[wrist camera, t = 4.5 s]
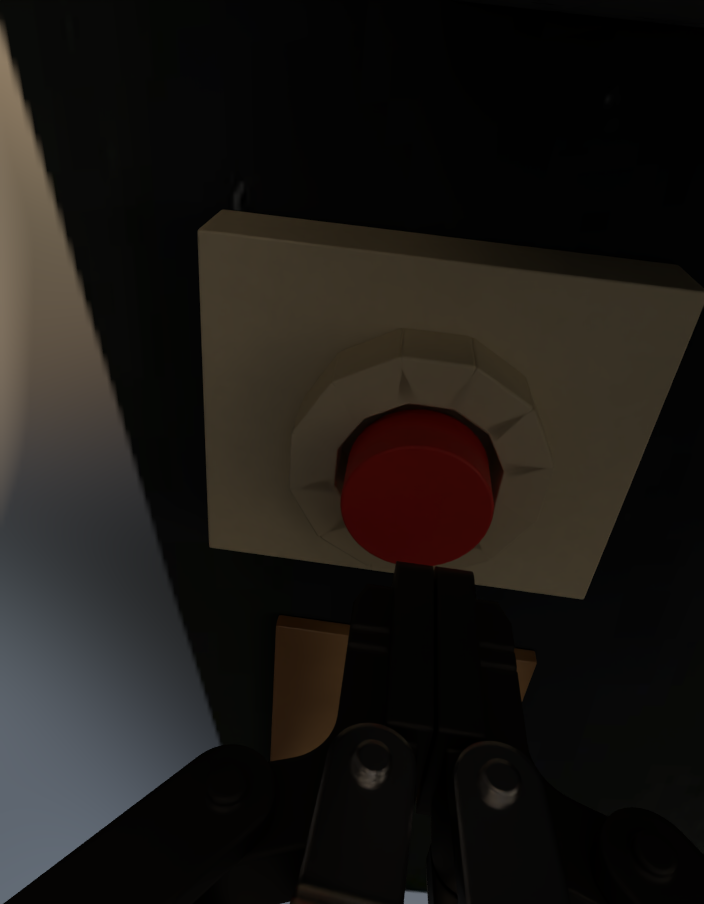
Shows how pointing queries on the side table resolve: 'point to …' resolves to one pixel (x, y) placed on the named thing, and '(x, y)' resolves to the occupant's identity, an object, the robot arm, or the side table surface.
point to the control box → (430, 382)
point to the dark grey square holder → (619, 9)
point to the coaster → (321, 682)
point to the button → (417, 488)
